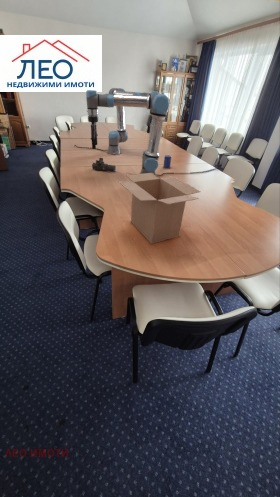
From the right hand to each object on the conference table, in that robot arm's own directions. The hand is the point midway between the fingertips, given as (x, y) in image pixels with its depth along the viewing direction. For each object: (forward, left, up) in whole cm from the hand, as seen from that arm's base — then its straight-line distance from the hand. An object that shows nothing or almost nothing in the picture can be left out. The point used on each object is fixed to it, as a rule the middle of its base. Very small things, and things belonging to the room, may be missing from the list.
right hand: (94, 146), depth 175 cm
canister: (-71, -44, -27) cm, 87 cm away
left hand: (-56, -75, +1) cm, 94 cm away
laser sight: (-5, -28, -27) cm, 39 cm away
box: (-38, +80, -27) cm, 93 cm away
